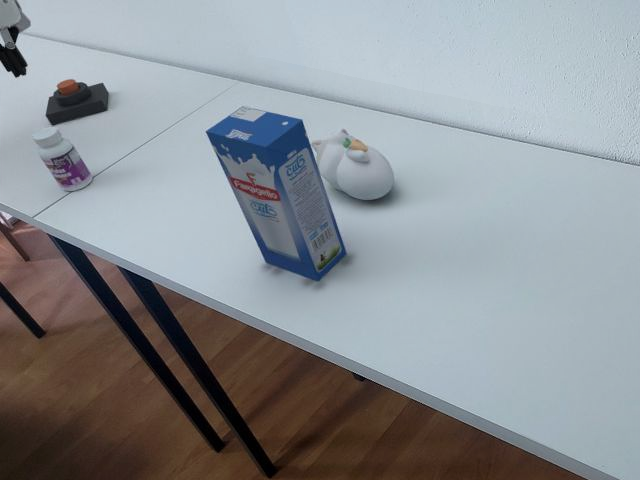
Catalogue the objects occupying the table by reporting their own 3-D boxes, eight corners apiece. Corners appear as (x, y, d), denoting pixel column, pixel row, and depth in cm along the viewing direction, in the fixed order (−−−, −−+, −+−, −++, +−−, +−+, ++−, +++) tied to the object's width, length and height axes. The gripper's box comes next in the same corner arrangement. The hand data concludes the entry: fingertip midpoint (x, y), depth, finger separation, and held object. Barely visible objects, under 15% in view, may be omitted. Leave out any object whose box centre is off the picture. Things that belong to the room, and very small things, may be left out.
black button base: (51, 125, 128) (39, 106, 125) (55, 106, 134) (43, 88, 131) (107, 110, 129) (96, 91, 126) (108, 92, 135) (98, 73, 132)
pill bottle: (58, 195, 109) (22, 144, 102) (66, 178, 112) (32, 127, 105) (89, 188, 109) (56, 137, 102) (97, 172, 112) (65, 121, 105)
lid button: (61, 97, 127) (55, 89, 126) (62, 90, 130) (57, 82, 128) (79, 92, 128) (74, 84, 127) (80, 85, 130) (75, 77, 129)
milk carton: (265, 262, 89) (204, 131, 74) (294, 236, 92) (242, 105, 78) (318, 281, 85) (265, 146, 70) (347, 254, 88) (302, 119, 73)
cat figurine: (387, 143, 88) (312, 108, 94) (357, 193, 88) (285, 155, 94) (416, 175, 97) (346, 141, 103) (389, 220, 97) (320, 183, 103)
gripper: (-5, -74, 94) (67, 52, 107) (-116, -47, 91) (-26, 79, 104) (-8, -63, 89) (69, 67, 102) (-124, -34, 86) (-29, 96, 99)
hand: (21, 73), depth 103 cm, fingers closed
